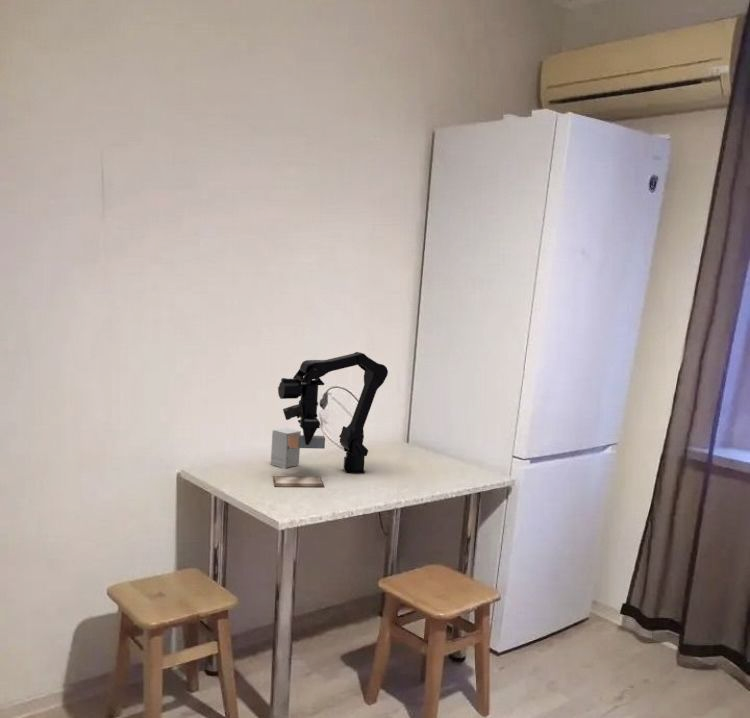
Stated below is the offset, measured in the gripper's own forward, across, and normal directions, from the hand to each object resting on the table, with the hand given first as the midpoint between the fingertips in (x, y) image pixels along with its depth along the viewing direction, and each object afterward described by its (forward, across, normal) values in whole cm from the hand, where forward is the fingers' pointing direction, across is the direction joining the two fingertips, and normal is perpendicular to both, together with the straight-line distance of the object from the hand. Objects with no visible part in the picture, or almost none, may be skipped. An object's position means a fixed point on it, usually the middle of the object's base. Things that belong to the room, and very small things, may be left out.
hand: (306, 443), depth 242 cm
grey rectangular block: (+1, 0, 0) cm, 1 cm away
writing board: (+11, +9, -3) cm, 14 cm away
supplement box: (+11, -13, -6) cm, 18 cm away
